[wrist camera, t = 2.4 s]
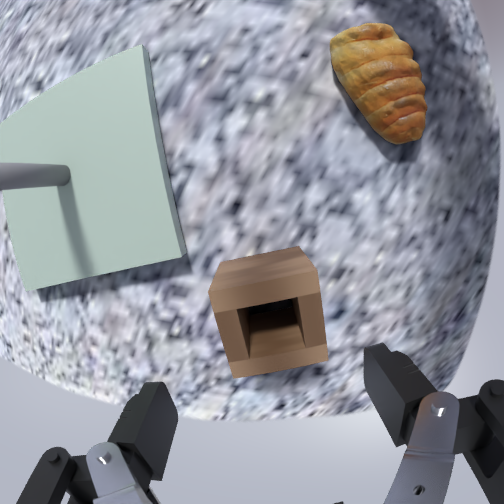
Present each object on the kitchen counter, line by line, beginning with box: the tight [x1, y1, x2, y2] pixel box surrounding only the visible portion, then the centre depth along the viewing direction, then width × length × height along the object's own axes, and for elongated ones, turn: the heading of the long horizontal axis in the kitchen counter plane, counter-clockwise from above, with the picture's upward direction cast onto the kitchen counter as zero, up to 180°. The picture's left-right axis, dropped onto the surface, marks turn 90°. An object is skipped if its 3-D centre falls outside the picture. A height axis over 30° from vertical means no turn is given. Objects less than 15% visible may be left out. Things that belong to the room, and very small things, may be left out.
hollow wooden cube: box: [208, 246, 328, 378], centre depth 18 cm, size 6×6×6 cm
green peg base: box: [0, 44, 187, 291], centre depth 14 cm, size 16×16×9 cm
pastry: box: [330, 23, 427, 144], centre depth 16 cm, size 9×7×4 cm
